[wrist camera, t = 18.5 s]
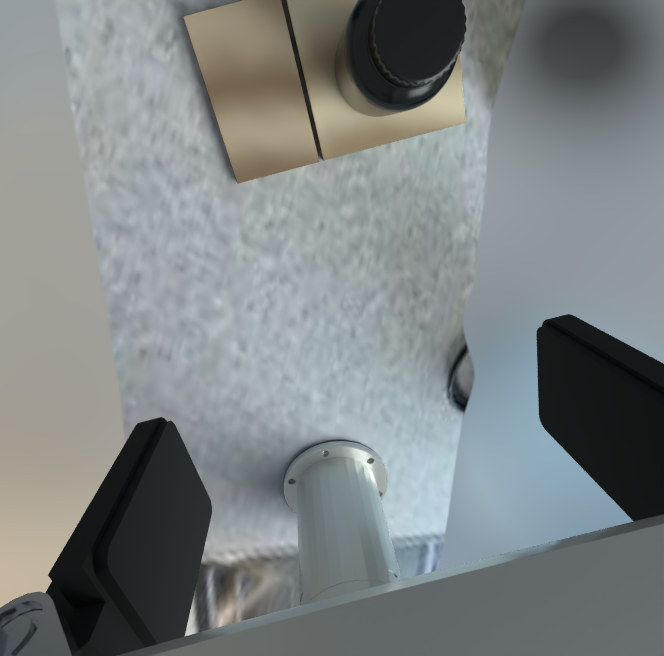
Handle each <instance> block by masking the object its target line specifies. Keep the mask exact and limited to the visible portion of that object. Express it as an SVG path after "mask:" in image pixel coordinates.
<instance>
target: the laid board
mask: <svg viewBox="0 0 664 656" xmlns="http://www.w3.org/2000/svg"><path fill="white" fill-rule="evenodd" d="M183 17H184V20H185V23H186V26H187V29H188V32H189V35H190V39H191V42H192V45H193V48H194V51H195V54H196V57H197V60H198V63H199V66H200V69H201V72H202V75H203V79H204V82H205V85H206V88H207V91H208V94H209V97H210V100H211V103H212V106H213V109H214V112H215V115H216V119H217V122H218V125H219V128H220V131H221V134H222V137H223V140H224V143H225V146H226V149H227V152H228V155H229V159H230V162H231V165H232V168H233V171H234V174H235V177H236V180H237V183H242V182H245V181H249V180H253V179H256V178H260V177H264V176H268V175H271V174H275V173H279V172H283V171H286V170H290V169H294V168H298V167H301V166H305V165H309V164H312V163H316V162H319V158H318V154H317V150H316V145H315V141H314V137H313V133H312V128H311V124H310V120H309V116H308V112H307V107H306V103H305V99H304V95H303V90H302V86H301V82H300V78H299V74H298V69H297V65H296V61H295V57H294V52H293V48H292V44H291V40H290V35H289V31H288V27H287V23H286V19H285V14H284V10H283V6H282V2H281V0H242V1H239V2H235V3H231V4H228V5H224V6H220V7H216V8H213V9H209V10H205V11H202V12H198V13H194V14H191V15H187V16H183Z"/></svg>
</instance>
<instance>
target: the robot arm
mask: <svg viewBox="0 0 664 656" xmlns="http://www.w3.org/2000/svg"><path fill="white" fill-rule="evenodd" d="M537 360H538V361H537V362H538V396H539V418H540V421H541V423H542V425H543V427H544V428H545V430H546V431H547V432H548V433H549V434H550V435H551V436H552V437H553V438H554V439H555V440H556V441H557V442H558V443H559V444H560V445H561V446H562V447H563V448H564V449H565V451H566V452H567V453H568V454H569V455H570V456H571V457H572V458H573V459H574V460H575V461H576V462H577V463H578V464H579V465H580V466H581V467H582V468H583V469H584V470H585V471H586V472H587V473H588V474H589V475H590V476H591V477H592V478H593V479H594V481H595V482H597V484H598V485H599V486H600V487H601V488H602V489H603V490H604V491H605V492H606V493H607V494H608V495H609V496H610V497H611V498H612V499H613V500H614V501H615V502H616V503H617V504H618V505H619V506H620V508H622V510H623V511H625V513H626V514H627V515H628V516H629V517H630V518H631V519H632V520H633V521H634V522H630V523H626V524H622V525H618V526H614V527H610V528H606V529H602V530H598V531H594V532H590V533H585V534H582V535H577V536H573V537H570V538H566V539H562V540H557V541H554V542H549V543H546V544H541V545H537V546H533V547H529V548H525V549H522V550H517V551H513V552H509V553H505V554H501V555H497V556H493V557H489V558H485V559H481V560H478V561H474V562H470V563H466V564H462V565H458V566H454V567H450V568H446V569H443V570H438V571H434V572H430V573H426V574H422V575H418V576H415V577H411V578H407V579H403V580H402V578H401V575H400V571H399V567H398V563H397V559H396V556H395V552H394V548H393V544H392V541H391V537H390V533H389V529H388V526H387V522H386V518H385V514H384V510H383V507H382V503H381V500H382V499H383V497H384V495H385V493H386V490H387V485H388V477H387V472H386V469H385V465H384V464H383V462H382V460H381V458H380V457H379V456H378V455H377V454H376V453H375V452H374V451H372V450H371V449H369V448H368V447H365V446H363V445H361V444H358V443H354V442H347V441H333V442H327V443H322V444H319V445H316V446H314V447H311V448H310V449H308V450H306V451H304V452H303V453H301V454H300V455H299V456H298V457H297V458H296V459H295V460H294V461H293V462H292V463H291V465H290V466H289V468H288V470H287V472H286V474H285V478H284V496H285V499H286V502H287V504H288V505H289V507H290V508H291V510H292V511H293V512H295V513H296V514H297V516H298V553H299V590H300V606H298V607H294V608H291V609H287V610H283V611H279V612H275V613H272V614H268V615H264V616H260V617H256V618H252V619H249V620H245V621H241V622H237V623H233V624H229V625H226V626H222V627H218V628H214V629H210V630H207V631H203V632H199V633H196V634H192V635H189V636H185V632H186V627H187V623H188V618H189V614H190V609H191V605H192V600H193V596H194V591H195V587H196V582H197V578H198V573H199V569H200V564H201V560H202V555H203V551H204V546H205V542H206V537H207V533H208V528H209V524H210V519H211V514H212V505H211V501H210V498H209V496H208V494H207V492H206V489H205V487H204V485H203V483H202V481H201V479H200V477H199V475H198V472H197V470H196V468H195V466H194V464H193V462H192V460H191V458H190V455H189V453H188V451H187V449H186V447H185V445H184V443H183V441H182V439H181V436H180V434H179V432H178V430H177V428H176V426H175V424H174V423H173V422H172V421H168V422H167V421H166V420H165V419H164V418H162V417H160V418H156V419H152V420H148V421H145V422H141V423H138V424H137V425H136V426H135V428H134V430H133V431H132V433H131V435H130V436H129V438H128V440H127V441H126V443H125V445H124V447H123V448H122V450H121V452H120V454H119V455H118V457H117V459H116V460H115V462H114V464H113V465H112V467H111V469H110V471H109V472H108V474H107V476H106V477H105V479H104V481H103V482H102V484H101V486H100V487H99V489H98V491H97V493H96V494H95V496H94V498H93V499H92V501H91V503H90V504H89V506H88V508H87V510H86V511H85V513H84V515H83V517H82V518H81V520H80V522H79V523H78V525H77V527H76V528H75V530H74V532H73V534H72V535H71V537H70V539H69V540H68V542H67V544H66V546H65V547H64V549H63V551H62V552H61V554H60V556H59V557H58V559H57V561H56V562H55V564H54V566H53V568H52V569H51V571H50V573H49V575H48V576H49V577H50V578H51V580H52V582H51V584H50V586H49V588H48V589H47V591H46V593H42V592H34V593H29V594H25V595H23V596H21V597H18V598H16V599H14V600H12V601H10V602H9V603H7V604H6V605H4V606H2V607H1V608H0V656H664V364H663V363H661V362H659V361H657V360H655V359H654V358H652V357H649V356H648V355H646V354H644V353H643V352H641V351H639V350H637V349H635V348H633V347H631V346H629V345H627V344H626V343H624V342H622V341H620V340H618V339H616V338H614V337H612V336H611V335H609V334H607V333H605V332H603V331H601V330H599V329H597V328H596V327H594V326H592V325H590V324H588V323H586V322H584V321H582V320H580V319H579V318H577V317H575V316H573V315H570V314H568V315H563V316H559V317H555V318H552V319H547V320H545V321H544V322H543V324H542V327H539V328H538V330H537ZM184 636H185V637H184Z"/></svg>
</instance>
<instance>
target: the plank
mask: <svg viewBox="0 0 664 656" xmlns="http://www.w3.org/2000/svg"><path fill="white" fill-rule="evenodd" d="M357 1H358V0H286V2H287V7H288V11H289V15H290V20H291V24H292V28H293V33H294V37H295V41H296V45H297V50H298V54H299V58H300V63H301V67H302V71H303V76H304V80H305V84H306V88H307V93H308V97H309V101H310V106H311V110H312V114H313V119H314V123H315V127H316V132H317V136H318V140H319V144H320V149H321V153H322V157H323V160H327V159H331V158H335V157H339V156H342V155H346V154H350V153H354V152H357V151H361V150H365V149H369V148H372V147H376V146H380V145H384V144H387V143H391V142H395V141H399V140H402V139H406V138H410V137H414V136H417V135H421V134H425V133H428V132H432V131H436V130H440V129H443V128H447V127H451V126H455V125H458V124H462V123H466V119H465V108H464V97H463V85H462V74H461V62H460V53H459V54H458V58H457V61H456V64H455V67H454V69H453V72H452V74H451V76H450V77H449V79H448V81H447V82H446V84H445V85H444V87H443V88H442V89H441V90H440V92H439V93H438V94H437V95H436V96H435V97H433V98H432V99H431V100H430V101H428V102H427V103H425V104H423V105H421V106H420V107H417V108H415V109H412V110H409V111H405V112H401V113H397V114H393V115H389V116H383V117H371V116H367V115H364V114H361V113H359V112H358V111H356V110H355V109H353V108H352V107H351V106H350V105H349V104H348V103H347V102H346V101H345V99H344V98H343V96H342V95H341V93H340V91H339V88H338V85H337V82H336V78H335V69H334V61H335V54H336V49H337V46H338V43H339V40H340V38H341V35H342V33H343V31H344V28H345V26H346V24H347V21H348V19H349V16H350V14H351V12H352V10H353V8H354V6H355V4H356V3H357Z"/></svg>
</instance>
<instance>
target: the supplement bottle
mask: <svg viewBox="0 0 664 656" xmlns="http://www.w3.org/2000/svg"><path fill="white" fill-rule="evenodd" d="M465 22H466V15H465V7H464V5H463V3H462V0H358V1H357V3H356V4H355V6H354V8H353V10H352V12H351V14H350V16H349V19H348V21H347V24H346V26H345V28H344V31H343V33H342V35H341V38H340V40H339V43H338V46H337V49H336V54H335V61H334V69H335V78H336V82H337V85H338V88H339V91H340V93H341V95H342V96H343V98H344V99H345V101H346V102H347V103H348V104H349V105H350V106H351V107H352V108H353V109H355V110H356V111H358V112H359V113H361V114H364V115H367V116H371V117H383V116H389V115H393V114H397V113H401V112H405V111H409V110H412V109H415V108H417V107H420V106H421V105H423V104H425V103H427V102H428V101H430V100H431V99H432V98H433V97H435V96H436V95H437V94H438V93H439V92H440V90H441V89H442V88H443V87H444V85H445V84H446V82H447V81H448V79H449V77H450V76H451V74H452V72H453V69H454V67H455V64H456V61H457V58H458V54H459V53H460V51H461V45H462V44H463V42H464V34H465V32H466V25H465Z"/></svg>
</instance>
